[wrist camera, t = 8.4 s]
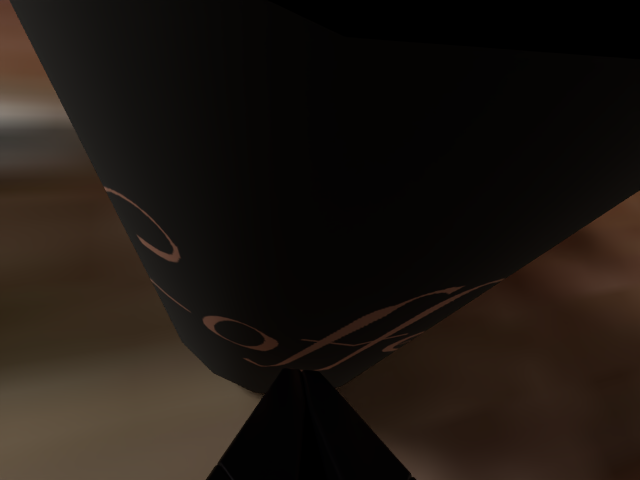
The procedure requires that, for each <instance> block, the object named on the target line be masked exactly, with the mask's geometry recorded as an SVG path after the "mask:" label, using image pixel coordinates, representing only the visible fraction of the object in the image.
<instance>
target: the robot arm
mask: <svg viewBox="0 0 640 480" xmlns="http://www.w3.org/2000/svg"><path fill="white" fill-rule="evenodd" d="M206 480H416V479H415V478H414V477H411V473H410V472H409V471H408V470H407V469H406V468H405V466H404V465H403V464H402V463H401V462H400V461H399V460H398V459H397V457H396V456H395V455H394V454H393V453H392V452H391V451H390V450H389V448H388V447H387V446H386V445H385V444H384V443H383V442H382V441H381V440H380V438H379V437H378V436H377V435H376V434H375V433H374V432H373V431H372V429H371V428H370V427H369V426H368V425H367V424H366V423H365V422H364V420H363V419H362V418H361V417H360V416H359V415H358V414H357V413H356V411H355V410H354V409H353V408H352V407H351V406H350V405H349V404H348V402H347V401H346V400H345V399H344V398H343V397H342V396H341V395H340V394H339V392H338V391H337V390H336V389H335V388H334V387H333V386H332V385H331V383H330V382H329V381H328V380H327V379H326V378H325V377H324V376H323V374H322V373H321V372H319V371H313V370H303V371H302V372H301V370H299V369H292V368H283V369H282V370H281V372H280V373H279V374H278V376H277V377H276V379H275V380H274V382H273V383H272V385H271V386H270V388H269V389H268V390H267V392H266V393H265V395H264V396H263V398H262V399H261V401H260V402H259V404H258V405H257V406H256V408H255V409H254V411H253V412H252V414H251V415H250V417H249V418H248V420H247V421H246V422H245V424H244V425H243V427H242V428H241V430H240V431H239V433H238V434H237V435H236V437H235V438H234V440H233V441H232V443H231V444H230V446H229V447H228V449H227V450H226V451H225V453H224V454H223V456H222V457H221V459H220V460H219V462H218V464H217V465H216V466H215V467H214V469H213V470H212V471H211V473H210V474H209V476H208V477H207V479H206Z"/></svg>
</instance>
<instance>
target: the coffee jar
mask: <svg viewBox="0 0 640 480" xmlns="http://www.w3.org/2000/svg"><path fill="white" fill-rule="evenodd" d="M10 2H11V4H12V6H13V8H14V10H15V12H16V14H17V16H18V18H19V20H20V22H21V24H22V26H23V28H24V30H25V32H26V34H27V36H28V38H29V40H30V42H31V44H32V46H33V48H34V50H35V52H36V54H37V56H38V58H39V60H40V62H41V64H42V66H43V67H44V69H45V71H46V73H47V75H48V77H49V79H50V81H51V83H52V85H53V87H54V89H55V91H56V93H57V95H58V97H59V99H60V101H61V103H62V105H63V107H64V109H65V111H66V113H67V115H68V117H69V119H70V121H71V123H72V125H73V127H74V129H75V131H76V133H77V135H78V137H79V139H80V141H81V143H82V145H83V147H84V149H85V151H86V153H87V155H88V157H89V158H90V160H91V162H92V164H93V166H94V168H95V170H96V172H97V174H98V176H99V178H100V180H101V182H102V184H103V186H104V188H105V190H106V192H107V194H108V196H109V198H110V200H111V202H112V204H113V206H114V208H115V210H116V212H117V214H118V216H119V218H120V220H121V222H122V224H123V226H124V228H125V230H126V232H127V234H128V236H129V238H130V240H131V242H132V244H133V246H134V248H135V249H136V251H137V253H138V255H139V257H140V259H141V261H142V263H143V265H144V267H145V269H146V271H147V273H148V275H149V277H150V279H151V281H152V283H153V285H154V287H155V289H156V291H157V293H158V295H159V297H160V299H161V301H162V303H163V305H164V307H165V309H166V311H167V313H168V315H169V317H170V319H171V321H172V323H173V325H174V327H175V329H176V331H177V333H178V335H179V337H180V339H181V341H182V342H183V343H184V344H185V345H186V346H187V347H188V348H189V349H190V350H191V351H192V352H193V353H194V354H195V355H196V356H197V357H198V358H199V359H200V360H201V361H202V362H203V363H204V364H205V365H206V366H207V367H208V368H209V369H210V370H211V371H212V372H213V373H214V374H216V375H218V376H221V377H223V378H225V379H227V380H229V381H231V382H233V383H236V384H238V385H240V386H242V387H244V388H246V389H248V390H251V391H253V392H257V393H266V392H267V390H268V389H269V388H270V386H271V385H272V383H273V382H274V380H275V379H276V377H277V376H278V374H279V373H280V372H281V370H282V369H283V368H292V369H299V370H301V372H302V371H303V370H313V371H319V372H321V373H322V374H323V376H324V377H325V378H326V379H327V380H328V381H329V382H330V383H331V385H332V386H333V387H334V388H336V387H340V386H342V385H344V384H345V383H347V382H348V381H350V380H351V379H353V378H355V377H356V376H358V375H359V374H361V373H362V372H364V371H365V370H367V369H368V368H370V367H371V366H373V365H374V364H376V363H377V362H379V361H380V360H382V359H383V358H385V357H387V356H388V355H390V354H391V353H393V352H394V351H396V350H397V349H399V348H400V347H402V346H403V345H405V344H406V343H408V342H409V341H411V340H412V339H414V338H415V337H417V336H418V335H420V334H422V333H423V332H425V331H426V330H428V329H429V328H431V327H432V326H434V325H435V324H437V323H438V322H440V321H441V320H443V319H444V318H446V317H447V316H449V315H450V314H452V313H453V312H455V311H457V310H458V309H460V308H461V307H463V306H464V305H466V304H467V303H469V302H470V301H472V300H473V299H475V298H476V297H478V296H479V295H481V294H482V293H484V292H485V291H487V290H489V289H490V288H492V287H493V286H495V285H496V284H498V283H499V282H501V281H502V280H504V279H505V278H507V277H508V276H510V275H511V274H513V273H514V272H516V271H517V270H519V269H520V268H522V267H524V266H525V265H527V264H528V263H530V262H531V261H533V260H534V259H536V258H537V257H539V256H540V255H542V254H543V253H545V252H546V251H548V250H549V249H551V248H552V247H554V246H556V245H557V244H559V243H560V242H562V241H563V240H565V239H566V238H568V237H569V236H571V235H572V234H574V233H575V232H577V231H578V230H580V229H581V228H583V227H584V226H586V225H587V224H589V223H591V222H592V221H594V220H595V219H597V218H598V217H600V216H601V215H603V214H604V213H606V212H607V211H609V210H610V209H612V208H613V207H615V206H616V205H618V204H619V203H621V202H622V201H624V200H626V199H627V198H629V197H630V196H632V195H633V194H635V193H636V192H638V191H639V190H640V0H10Z"/></svg>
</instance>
